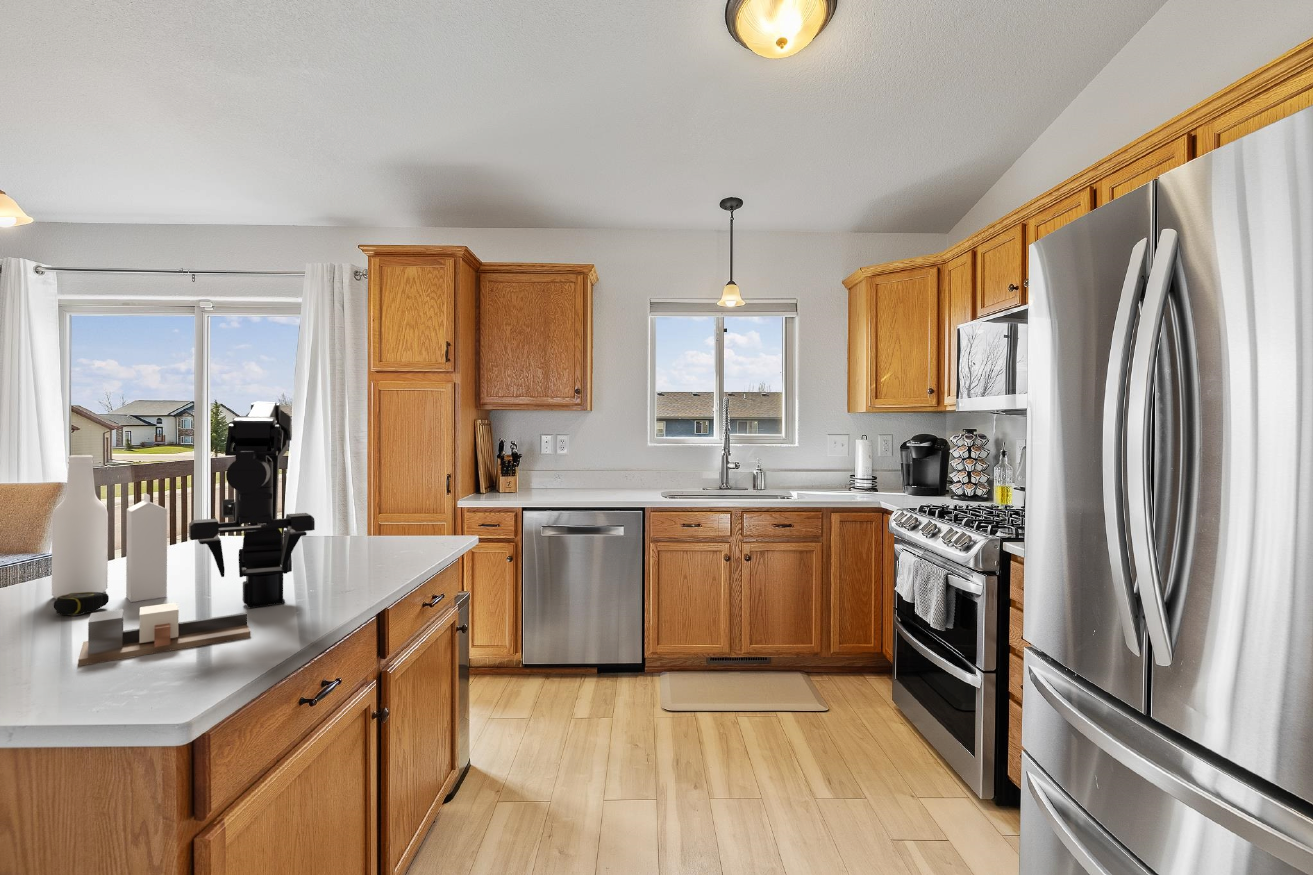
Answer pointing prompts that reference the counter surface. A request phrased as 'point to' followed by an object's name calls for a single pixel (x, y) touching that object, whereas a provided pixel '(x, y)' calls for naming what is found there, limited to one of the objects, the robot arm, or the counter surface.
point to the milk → (146, 551)
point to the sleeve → (158, 620)
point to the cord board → (174, 646)
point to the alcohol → (79, 534)
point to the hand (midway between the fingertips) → (253, 573)
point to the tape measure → (80, 603)
